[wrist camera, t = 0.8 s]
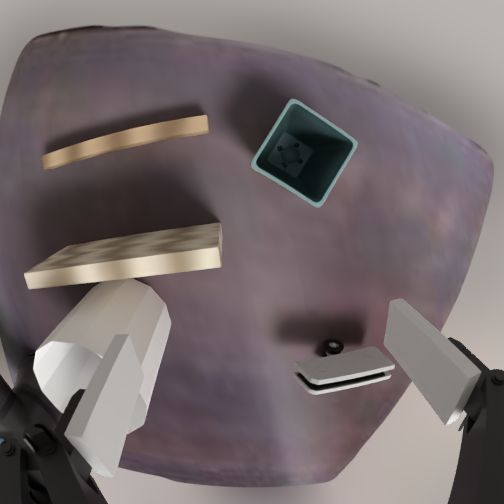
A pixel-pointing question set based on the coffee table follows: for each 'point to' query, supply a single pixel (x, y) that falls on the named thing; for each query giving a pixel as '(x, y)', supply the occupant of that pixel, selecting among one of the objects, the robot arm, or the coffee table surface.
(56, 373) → the container
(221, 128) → the coffee table surface
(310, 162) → the flower pot
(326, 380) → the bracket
